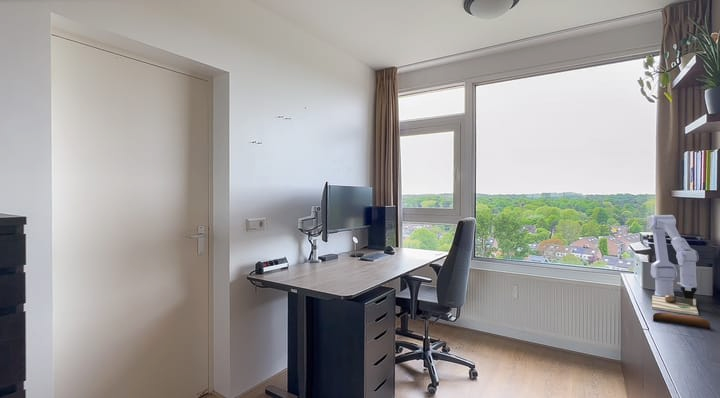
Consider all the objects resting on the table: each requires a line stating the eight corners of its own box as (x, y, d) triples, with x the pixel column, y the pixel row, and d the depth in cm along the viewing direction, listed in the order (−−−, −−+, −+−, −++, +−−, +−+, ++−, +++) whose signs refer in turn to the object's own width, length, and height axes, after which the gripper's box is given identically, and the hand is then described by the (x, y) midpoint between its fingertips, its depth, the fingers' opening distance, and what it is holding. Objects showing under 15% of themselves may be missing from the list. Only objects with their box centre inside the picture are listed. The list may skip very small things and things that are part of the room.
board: (652, 297, 181) (652, 295, 181) (694, 303, 170) (694, 300, 170) (652, 308, 164) (652, 306, 164) (698, 315, 154) (698, 312, 154)
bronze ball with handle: (664, 301, 170) (664, 296, 170) (665, 299, 172) (665, 294, 172) (695, 306, 161) (695, 300, 161) (696, 304, 164) (696, 298, 164)
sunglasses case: (706, 323, 145) (707, 312, 142) (709, 336, 140) (711, 325, 137) (651, 315, 156) (651, 305, 153) (652, 327, 151) (652, 317, 148)
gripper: (677, 271, 173) (678, 297, 173) (676, 276, 163) (677, 304, 163) (696, 272, 168) (697, 300, 168) (696, 278, 158) (697, 307, 158)
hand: (689, 302), depth 165 cm, fingers closed, pressing on bronze ball with handle
